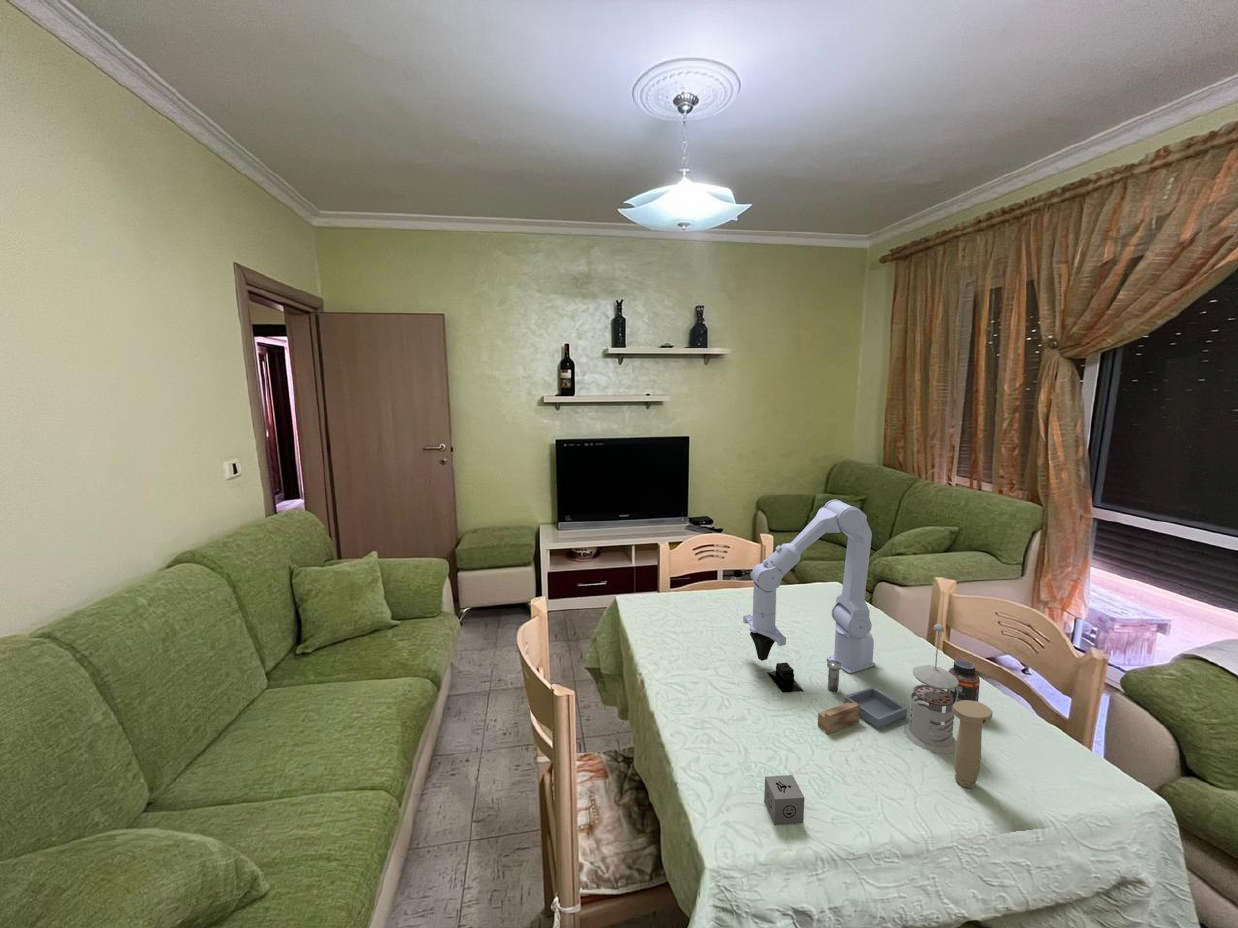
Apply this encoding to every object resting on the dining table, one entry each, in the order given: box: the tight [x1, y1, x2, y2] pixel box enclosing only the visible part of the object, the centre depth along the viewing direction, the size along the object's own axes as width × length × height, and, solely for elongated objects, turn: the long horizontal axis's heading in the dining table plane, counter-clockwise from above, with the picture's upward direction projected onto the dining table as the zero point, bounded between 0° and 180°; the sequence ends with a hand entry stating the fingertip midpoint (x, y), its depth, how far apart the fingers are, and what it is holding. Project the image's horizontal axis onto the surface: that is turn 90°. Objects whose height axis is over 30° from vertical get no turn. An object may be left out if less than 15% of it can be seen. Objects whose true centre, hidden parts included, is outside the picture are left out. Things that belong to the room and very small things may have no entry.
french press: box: [903, 623, 959, 754], centre depth 104 cm, size 10×12×25 cm
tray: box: [843, 686, 908, 731], centre depth 113 cm, size 9×9×2 cm
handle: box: [952, 700, 994, 789], centre depth 92 cm, size 5×6×15 cm
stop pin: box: [826, 660, 842, 693], centre depth 122 cm, size 3×3×7 cm
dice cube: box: [763, 774, 805, 826], centre depth 87 cm, size 5×5×5 cm
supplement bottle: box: [946, 658, 981, 703], centre depth 113 cm, size 6×6×11 cm
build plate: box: [766, 662, 805, 694], centre depth 126 cm, size 12×7×5 cm, turn 8°
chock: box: [817, 702, 860, 735], centre depth 109 cm, size 9×3×4 cm, turn 114°
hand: (762, 658), depth 132 cm, fingers closed
